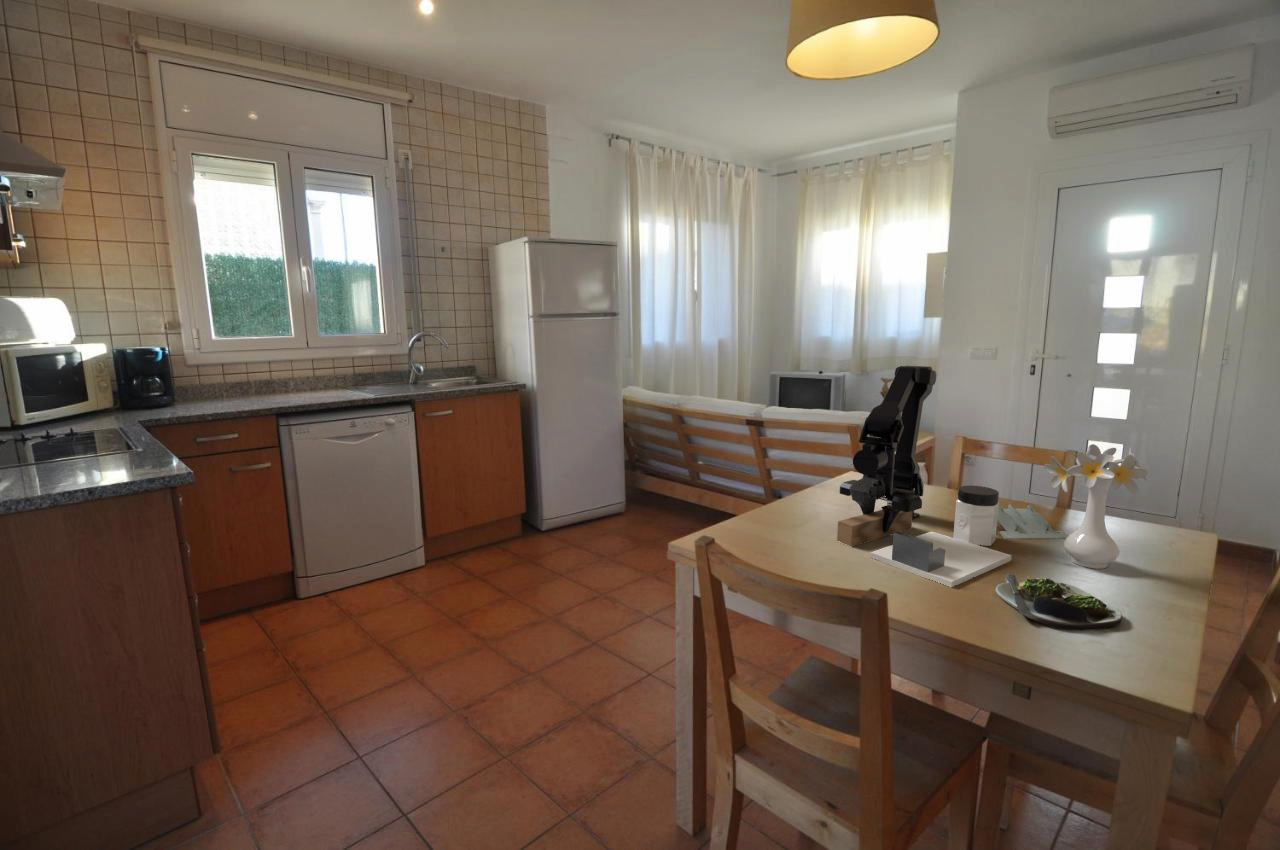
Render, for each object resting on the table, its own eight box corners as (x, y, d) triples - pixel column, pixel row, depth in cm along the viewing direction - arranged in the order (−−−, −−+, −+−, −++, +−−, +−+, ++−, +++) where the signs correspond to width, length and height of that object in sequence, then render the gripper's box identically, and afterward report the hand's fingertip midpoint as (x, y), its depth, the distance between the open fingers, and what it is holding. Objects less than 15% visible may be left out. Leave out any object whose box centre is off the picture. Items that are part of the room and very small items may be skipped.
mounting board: (931, 536, 144) (931, 531, 143) (1011, 560, 129) (1011, 555, 129) (870, 557, 131) (870, 552, 131) (951, 587, 116) (951, 581, 116)
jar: (945, 535, 144) (949, 486, 142) (972, 531, 147) (976, 483, 144) (975, 548, 136) (980, 497, 134) (1004, 544, 138) (1009, 493, 136)
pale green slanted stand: (979, 501, 152) (1040, 500, 152) (974, 520, 155) (1033, 519, 155) (1010, 536, 139) (1076, 535, 139) (1004, 556, 142) (1068, 555, 142)
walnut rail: (897, 524, 152) (898, 505, 151) (911, 529, 149) (912, 509, 148) (836, 541, 141) (837, 521, 140) (850, 547, 138) (852, 526, 137)
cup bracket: (908, 553, 130) (910, 527, 129) (944, 565, 124) (946, 538, 123) (891, 559, 127) (893, 532, 126) (927, 572, 120) (929, 544, 119)
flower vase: (1024, 555, 131) (1036, 443, 127) (1097, 549, 134) (1111, 439, 130) (1076, 581, 119) (1091, 456, 114) (1156, 573, 122) (1173, 452, 117)
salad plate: (966, 584, 119) (968, 561, 118) (1054, 581, 120) (1056, 558, 119) (1035, 634, 100) (1038, 608, 99) (1138, 630, 101) (1142, 604, 100)
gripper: (826, 463, 145) (823, 525, 148) (895, 480, 130) (891, 548, 133) (855, 457, 151) (852, 517, 154) (925, 472, 136) (920, 538, 139)
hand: (876, 529), depth 145 cm, fingers closed on walnut rail, 4 cm apart
